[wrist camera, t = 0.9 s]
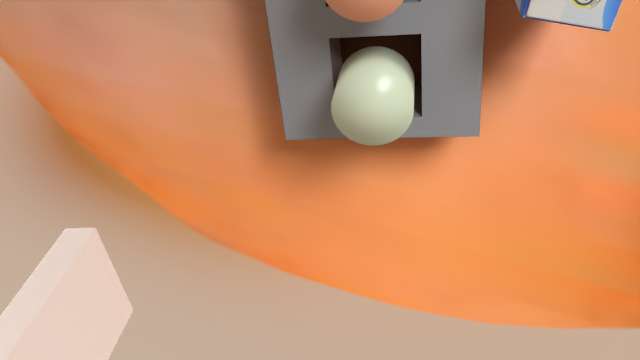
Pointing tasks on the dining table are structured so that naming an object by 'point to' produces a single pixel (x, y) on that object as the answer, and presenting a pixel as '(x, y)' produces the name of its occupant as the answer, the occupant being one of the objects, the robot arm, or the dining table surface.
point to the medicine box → (572, 12)
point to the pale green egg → (374, 96)
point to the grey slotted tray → (409, 18)
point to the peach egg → (364, 9)
